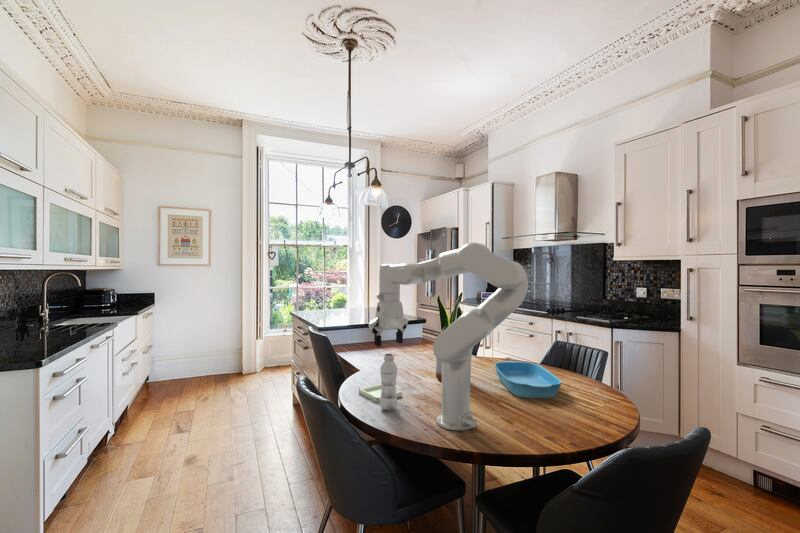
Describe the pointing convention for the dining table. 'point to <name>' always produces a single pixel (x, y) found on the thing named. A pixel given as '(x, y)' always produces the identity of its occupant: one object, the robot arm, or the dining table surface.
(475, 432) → the dining table surface
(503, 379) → the casserole dish
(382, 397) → the plastic bottle
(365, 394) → the tray
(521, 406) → the dining table surface
